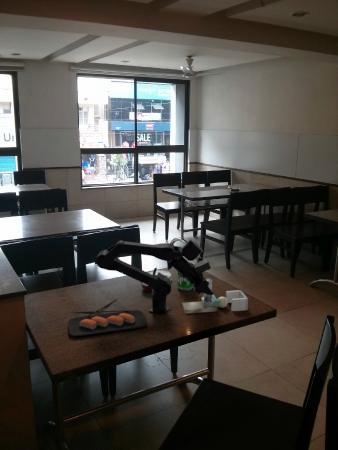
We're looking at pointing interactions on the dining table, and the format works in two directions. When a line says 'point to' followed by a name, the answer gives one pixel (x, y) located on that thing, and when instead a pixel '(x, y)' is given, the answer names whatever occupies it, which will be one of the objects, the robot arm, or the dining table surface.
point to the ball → (222, 302)
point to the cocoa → (145, 286)
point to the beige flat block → (197, 307)
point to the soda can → (184, 283)
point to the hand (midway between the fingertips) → (211, 291)
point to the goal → (237, 300)
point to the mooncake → (163, 273)
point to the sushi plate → (106, 322)
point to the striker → (209, 297)
